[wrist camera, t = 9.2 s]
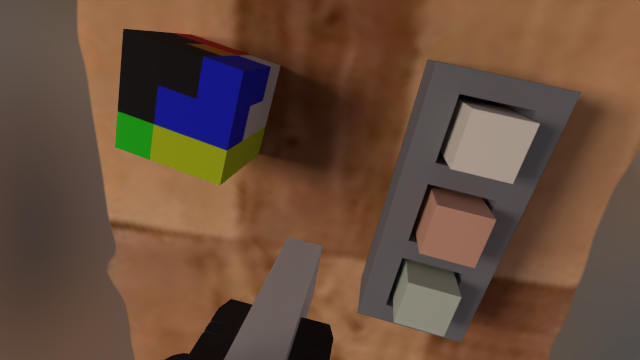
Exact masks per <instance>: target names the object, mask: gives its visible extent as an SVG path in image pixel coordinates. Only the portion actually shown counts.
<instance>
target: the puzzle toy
mask: <svg viewBox="0 0 640 360" xmlns="http://www.w3.org/2000/svg"><path fill="white" fill-rule="evenodd" d="M280 67H281V65H278V64H275V63H272V62H269V61H266V60H263V59H261V58H258V57H255V56H252V55H249V54H246V53H243V52H240V51H237V50H234V49H231V48H228V47H226V46H223V45H220V44H217V43H214V42H211V41H208V40H205V39H202V38H199V37H196V36H193V35H190V34H178V33H166V32H154V31H143V30H131V29H123V43H122V57H121V72H120V86H119V100H118V115H117V129H116V144H115V147H116V148H119V149H122V150H125V151H127V152H130V153H133V154H135V155H138V156H141V157H144V158H146V159H149V160H152V161H155V162H157V163H160V164H163V165H165V166H168V167H171V168H174V169H176V170H179V171H182V172H185V173H187V174H190V175H193V176H195V177H198V178H201V179H204V180H206V181H209V182H212V183H215V184H217V185H221V184H222V183H223V182H225V181H226V180H227V179H228V178H230V177H231V176H232V175H233V174H235V173H236V172H237V171H238V170H240V169H241V168H242V167H243V166H244V165H246V164H247V163H248V162H249V161H251V160H252V159H253V158H254V157H256V156H257V155H258V154H259V151H260V147H261V143H262V139H263V135H264V131H265V127H266V123H267V119H268V115H269V111H270V107H271V103H272V99H273V95H274V91H275V87H276V83H277V79H278V75H279V71H280Z"/></svg>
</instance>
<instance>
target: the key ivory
mask: <svg viewBox="0 0 640 360" xmlns="http://www.w3.org/2000/svg"><path fill="white" fill-rule="evenodd" d="M539 125H540V123H537V122H535V121H533V120H531V119H529V118H527V117H525V116H523V115H520V114H518V113H516V112H514V111H512V110H510V109H508V108H505V107H500V106H496V105H491V104H487V103H482V102H478V101H473V100H469V99H465V98H460V97H458V99H457V102H456V105H455V108H454V111H453V114H452V117H451V120H450V122H449V125H448V128H447V131H446V134H445V137H444V140H443V142H442V145H441V148H440V151H441V153H442V155H443V157H444V158H445V160H446V162H447V164H448V166H449V167H450V169H453V170H457V171H461V172H465V173H469V174H473V175H477V176H481V177H485V178H489V179H494V180H498V181H502V182H506V183H510V184H513V183H514V180H515V178H516V176H517V174H518V172H519V169H520V167H521V165H522V163H523V160H524V158H525V156H526V154H527V152H528V149H529V147H530V145H531V143H532V141H533V138H534V136H535V134H536V132H537V130H538V127H539Z"/></svg>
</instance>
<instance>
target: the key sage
mask: <svg viewBox="0 0 640 360" xmlns="http://www.w3.org/2000/svg"><path fill="white" fill-rule="evenodd" d="M461 298H462V297H461V294H460V291H459V287H458V284H457V281H456V278H455V274H454V272H453V271H449V270H446V269H442V268H438V267H435V266H431V265H427V264H423V263H420V262H416V261H412V260H409V259H405V258H402V260H401V263H400V266H399V269H398V271H397V274H396V277H395V280H394V283H393V316H394V323H398V324H401V325H405V326H408V327H412V328H415V329H418V330H422V331H425V332H429V333H432V334H436V335H439V336H443V337H444V335H445V333H446V331H447V328H448V326H449V324H450V322H451V320H452V317H453V315H454V313H455V311H456V309H457V306H458V304H459V302H460V300H461Z"/></svg>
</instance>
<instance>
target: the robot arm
mask: <svg viewBox="0 0 640 360" xmlns="http://www.w3.org/2000/svg"><path fill="white" fill-rule="evenodd" d="M322 247H323V246H321V245H317V244H313V243H309V242H305V241H301V240H297V239H293V238H289V237H288V238H287V240H286V242H285V244H284V246H283V248H282V250H281V252H280V254H279V256H278V257H277V259H276V261H275V263H274V265H273V267H272V269H271V271H270V273H269V275H268V277H267V278H266V280H265V282H264V284H263V286H262V288H261V290H260V292H259V294H258V296H257V298H256V300H255V301H254V303H253V305H251V304H248V303H244V302H240V301H237V300H233V299H231V300H229V301H228V302H227V303H225V304H224V305H222V306H221V307H220V308H219V309H218V310H217V312H216V313H215V315H214V316H213V318H212V320H211V322H210V323H209V324H208V326H207V327H206V329H205V331H204V333H202V335H201V337H200V338H199V340H198V341H197V343H196V344H195V346H194V347H193V349H192V351H191V352H190V354H185V353H182V354H177V355H173V356H171V357H169V358H167V359H165V360H329V359H330V354H331V348H332V343H333V335H332V331H331V328H330V325H329V324H325V323H321V322H318V321H314V320H310V319H307V318H306V317H307V314H308V311H309V307H310V304H311V301H312V297H313V293H314V288H315V282H316V277H317V272H318V267H319V262H320V257H321V252H322Z"/></svg>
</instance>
